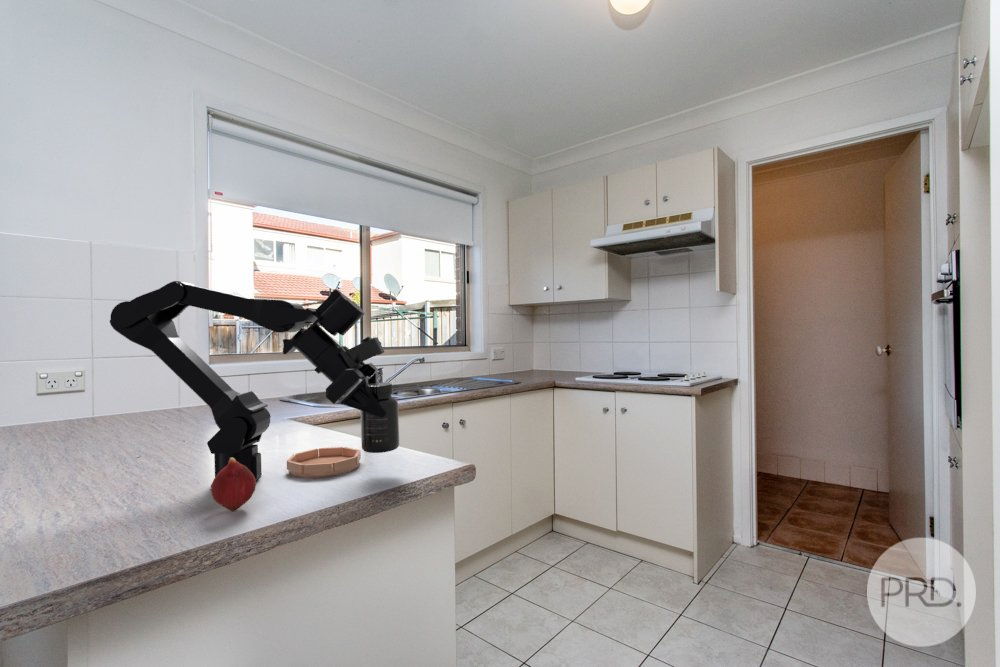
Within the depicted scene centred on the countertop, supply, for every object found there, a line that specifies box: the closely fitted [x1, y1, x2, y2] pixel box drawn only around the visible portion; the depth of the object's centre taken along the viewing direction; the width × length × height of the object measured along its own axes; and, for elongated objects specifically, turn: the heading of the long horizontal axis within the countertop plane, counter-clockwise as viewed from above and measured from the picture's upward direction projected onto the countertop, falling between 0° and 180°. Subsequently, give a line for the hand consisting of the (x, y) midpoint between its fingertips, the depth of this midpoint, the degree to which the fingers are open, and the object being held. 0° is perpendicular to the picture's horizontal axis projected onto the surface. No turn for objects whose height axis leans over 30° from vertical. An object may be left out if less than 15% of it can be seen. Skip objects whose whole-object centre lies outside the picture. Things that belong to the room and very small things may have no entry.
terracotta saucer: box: [286, 446, 362, 479], centre depth 94 cm, size 13×13×2 cm
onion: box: [210, 458, 257, 512], centre depth 72 cm, size 6×6×8 cm
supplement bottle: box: [359, 382, 400, 454], centre depth 88 cm, size 7×7×12 cm
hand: (387, 412), depth 88 cm, fingers closed on supplement bottle, 6 cm apart
